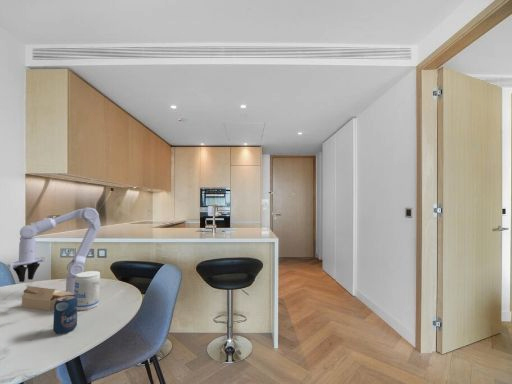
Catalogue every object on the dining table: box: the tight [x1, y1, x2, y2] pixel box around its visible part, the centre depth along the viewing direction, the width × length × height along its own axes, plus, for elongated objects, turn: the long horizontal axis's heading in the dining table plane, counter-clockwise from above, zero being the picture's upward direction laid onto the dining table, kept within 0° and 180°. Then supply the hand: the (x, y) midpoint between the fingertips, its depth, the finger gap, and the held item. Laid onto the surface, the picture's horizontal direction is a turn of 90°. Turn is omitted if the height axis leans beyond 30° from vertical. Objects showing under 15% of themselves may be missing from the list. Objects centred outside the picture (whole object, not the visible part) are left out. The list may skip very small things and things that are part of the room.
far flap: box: [21, 285, 56, 301], centre depth 111 cm, size 5×16×5 cm
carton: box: [21, 290, 72, 311], centre depth 117 cm, size 10×16×4 cm, turn 76°
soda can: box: [52, 295, 78, 336], centre depth 93 cm, size 7×7×12 cm
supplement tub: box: [74, 270, 101, 311], centre depth 115 cm, size 10×10×15 cm
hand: (26, 280), depth 119 cm, fingers open, 3 cm apart
